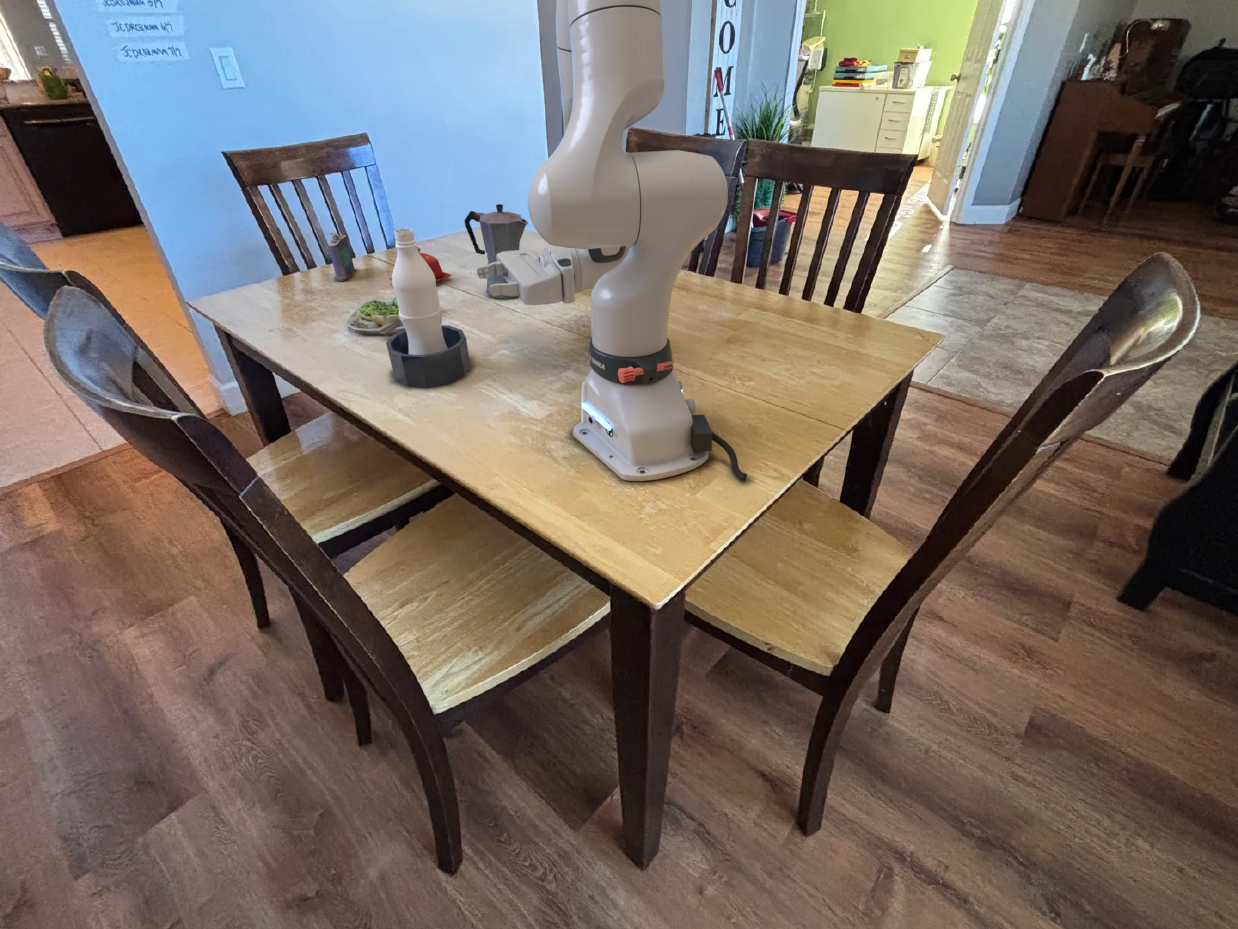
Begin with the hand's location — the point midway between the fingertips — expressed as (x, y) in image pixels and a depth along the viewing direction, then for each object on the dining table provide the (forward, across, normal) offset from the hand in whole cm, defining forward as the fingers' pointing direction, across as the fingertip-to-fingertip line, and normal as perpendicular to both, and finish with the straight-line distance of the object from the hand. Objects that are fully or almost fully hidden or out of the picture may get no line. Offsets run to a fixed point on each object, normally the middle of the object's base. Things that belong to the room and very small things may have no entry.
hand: (483, 281), depth 110 cm
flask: (+24, -63, +16) cm, 69 cm away
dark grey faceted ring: (+12, 0, +15) cm, 19 cm away
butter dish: (+7, -50, +16) cm, 53 cm away
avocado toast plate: (+16, -28, +15) cm, 35 cm away
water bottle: (+12, 0, +15) cm, 19 cm away
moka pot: (-10, -34, +15) cm, 39 cm away
